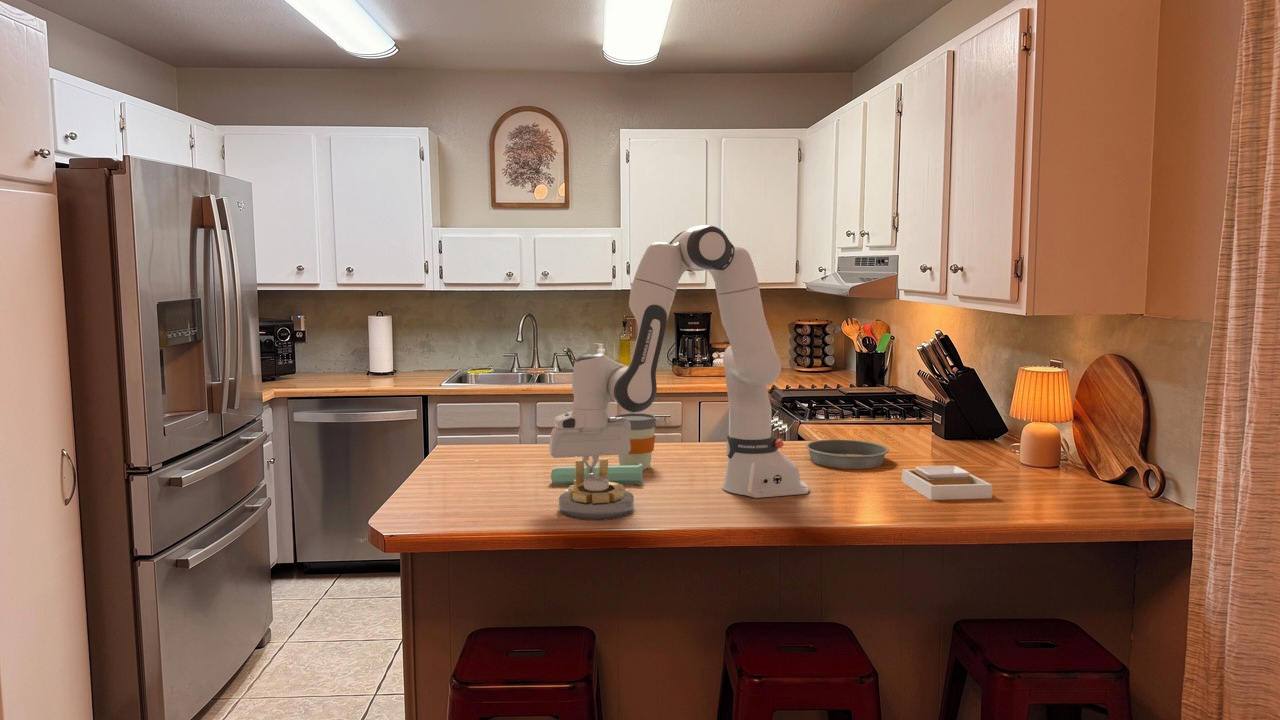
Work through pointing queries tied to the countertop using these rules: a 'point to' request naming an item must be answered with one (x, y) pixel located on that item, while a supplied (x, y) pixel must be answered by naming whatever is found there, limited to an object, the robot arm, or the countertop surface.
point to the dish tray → (947, 488)
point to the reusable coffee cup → (639, 439)
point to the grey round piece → (596, 509)
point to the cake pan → (831, 449)
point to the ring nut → (579, 495)
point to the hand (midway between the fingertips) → (590, 473)
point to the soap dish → (943, 475)
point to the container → (615, 474)
